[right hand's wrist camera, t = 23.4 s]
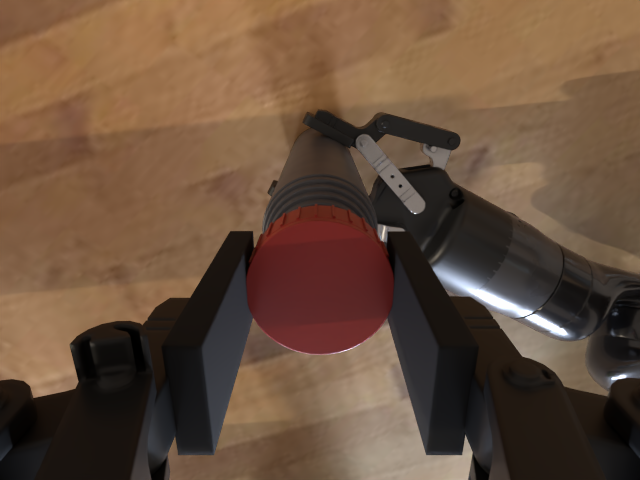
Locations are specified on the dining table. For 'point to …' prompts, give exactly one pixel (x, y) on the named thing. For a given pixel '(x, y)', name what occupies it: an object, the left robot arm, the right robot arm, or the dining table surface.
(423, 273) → the right robot arm
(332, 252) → the cap
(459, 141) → the left robot arm
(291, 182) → the bottle
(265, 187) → the dining table surface
